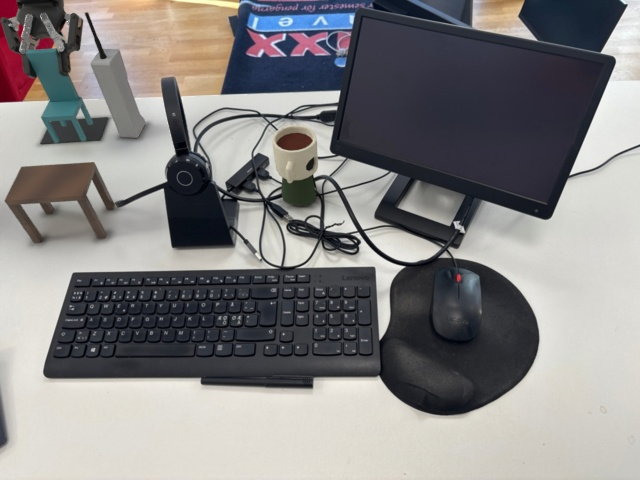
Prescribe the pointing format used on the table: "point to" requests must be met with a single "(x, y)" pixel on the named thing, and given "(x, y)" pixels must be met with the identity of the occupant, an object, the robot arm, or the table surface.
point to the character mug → (296, 163)
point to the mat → (70, 133)
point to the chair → (57, 92)
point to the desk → (57, 192)
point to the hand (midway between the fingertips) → (47, 75)
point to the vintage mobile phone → (116, 89)
